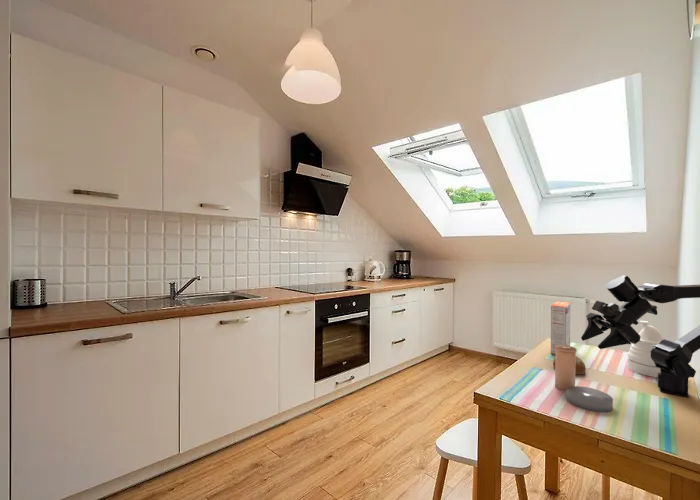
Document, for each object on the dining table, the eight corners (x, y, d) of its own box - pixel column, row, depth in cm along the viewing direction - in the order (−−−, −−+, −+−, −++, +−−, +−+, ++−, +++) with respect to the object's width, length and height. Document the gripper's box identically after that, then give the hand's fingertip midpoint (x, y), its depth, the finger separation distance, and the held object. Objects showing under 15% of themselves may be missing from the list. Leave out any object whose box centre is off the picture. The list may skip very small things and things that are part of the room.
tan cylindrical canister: (576, 386, 110) (577, 347, 110) (574, 393, 106) (575, 351, 105) (555, 382, 114) (556, 343, 114) (552, 387, 109) (553, 347, 109)
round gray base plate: (613, 401, 100) (613, 393, 100) (611, 416, 92) (612, 406, 91) (569, 391, 107) (569, 383, 107) (564, 403, 99) (564, 395, 98)
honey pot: (623, 370, 126) (624, 321, 126) (630, 362, 134) (631, 317, 134) (671, 380, 116) (672, 328, 116) (675, 371, 125) (676, 323, 124)
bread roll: (586, 385, 120) (597, 365, 120) (560, 373, 120) (570, 353, 120) (569, 375, 130) (578, 356, 130) (545, 363, 130) (554, 344, 130)
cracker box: (554, 346, 155) (555, 300, 155) (570, 348, 151) (571, 302, 151) (549, 353, 144) (550, 304, 144) (566, 356, 140) (567, 306, 140)
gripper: (594, 289, 118) (558, 318, 120) (632, 298, 100) (589, 331, 101) (616, 313, 118) (580, 342, 119) (659, 326, 99) (616, 360, 101)
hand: (590, 343), depth 110 cm, fingers open, 9 cm apart
